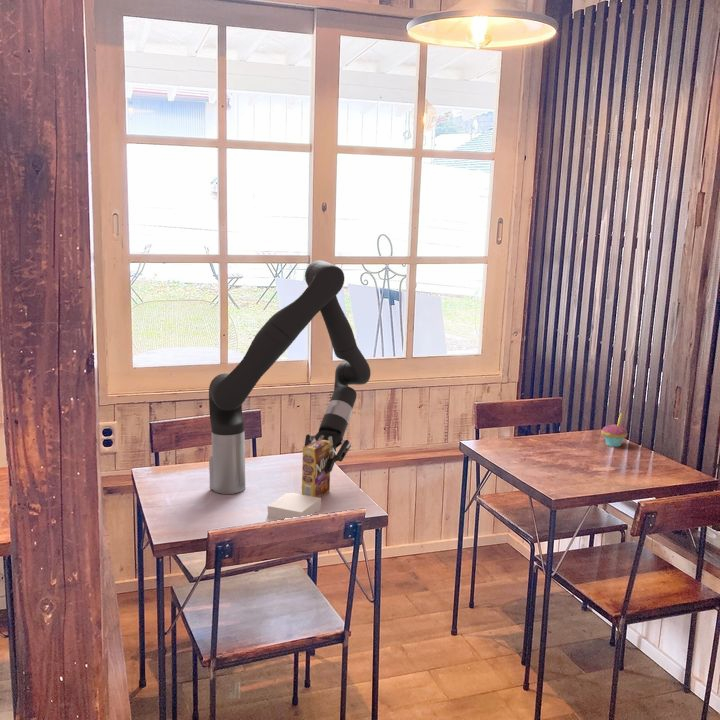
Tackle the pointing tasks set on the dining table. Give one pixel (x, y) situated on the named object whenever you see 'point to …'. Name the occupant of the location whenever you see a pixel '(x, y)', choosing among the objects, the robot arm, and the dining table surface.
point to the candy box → (316, 469)
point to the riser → (294, 506)
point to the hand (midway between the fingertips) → (317, 470)
